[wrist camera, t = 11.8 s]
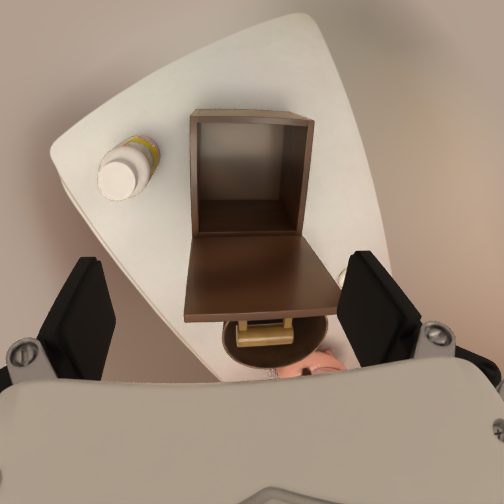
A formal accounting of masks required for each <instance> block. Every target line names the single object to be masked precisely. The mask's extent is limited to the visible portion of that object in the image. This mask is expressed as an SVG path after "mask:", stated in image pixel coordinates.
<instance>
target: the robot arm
mask: <svg viewBox="0 0 504 504" xmlns="http://www.w3.org/2000/svg"><path fill="white" fill-rule="evenodd" d="M337 317H338V319H339V321H340V324H341V326H342V328H343V330H344V332H345V334H346V336H347V338H348V340H349V342H350V344H351V346H352V348H353V351H354V353H355V355H356V357H357V359H358V361H359V363H360V366H361V368H356V369H350V370H343V371H337V372H330V373H323V374H315V375H307V376H298V377H289V378H279V379H268V380H255V381H240V382H220V383H173V384H172V383H133V382H110V381H101V377H102V373H103V369H104V365H105V361H106V357H107V354H108V350H109V346H110V342H111V339H112V335H113V332H114V328H115V324H116V318H115V314H114V310H113V307H112V303H111V299H110V296H109V292H108V288H107V284H106V280H105V276H104V272H103V268H102V264H101V261H97V259H96V257H81V258H80V259H79V260H78V262H77V263H76V265H75V267H74V268H73V270H72V272H71V273H70V275H69V277H68V279H67V281H66V282H65V284H64V286H63V287H62V289H61V291H60V293H59V294H58V297H57V298H56V300H55V302H54V304H53V306H52V307H51V310H50V311H49V313H48V315H47V317H46V319H45V321H44V323H43V325H42V327H41V329H40V331H39V334H38V336H37V338H36V339H35V338H30V337H29V338H23V339H20V340H18V341H16V342H15V343H14V344H13V345H12V346H11V347H10V348H9V350H8V351H7V354H6V364H7V366H5V367H3V368H2V369H0V504H504V380H501V373H500V370H499V368H498V367H497V366H496V364H495V363H494V362H492V361H490V360H488V359H486V358H484V357H482V356H479V355H477V354H475V353H472V352H470V351H467V350H465V349H463V348H460V347H459V346H456V338H455V335H454V333H453V331H452V330H451V329H450V328H449V327H447V326H446V325H444V324H443V323H440V322H437V321H428V322H425V323H424V324H422V323H421V321H420V319H421V317H422V316H421V315H420V313H419V312H418V311H417V309H416V308H415V307H414V305H413V304H412V303H411V301H410V300H409V299H408V297H407V296H406V295H405V294H404V292H403V291H402V290H401V288H400V287H399V286H398V284H397V283H396V282H395V281H394V279H393V278H392V277H391V276H390V274H389V273H388V272H387V271H386V269H385V268H384V267H383V266H382V264H381V263H380V262H379V261H378V260H377V258H376V257H375V256H374V255H373V254H372V252H371V251H355V253H354V254H353V255H351V256H350V258H349V262H348V266H347V271H346V275H345V279H344V283H343V287H342V291H341V294H340V298H339V302H338V306H337Z"/></svg>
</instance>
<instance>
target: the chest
mask: <svg viewBox="0 0 504 504" xmlns="http://www.w3.org/2000/svg"><path fill="white" fill-rule="evenodd" d="M313 132H314V120H311V119H308V118H305V117H303V116H300V115H297V114H294V113H291V112H285V111H269V110H246V109H195V111H194V112H193V113H192V115H191V116H190V188H191V218H192V238H195V237H247V236H302V229H303V221H304V213H305V205H306V197H307V189H308V180H309V171H310V162H311V152H312V142H313Z"/></svg>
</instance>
